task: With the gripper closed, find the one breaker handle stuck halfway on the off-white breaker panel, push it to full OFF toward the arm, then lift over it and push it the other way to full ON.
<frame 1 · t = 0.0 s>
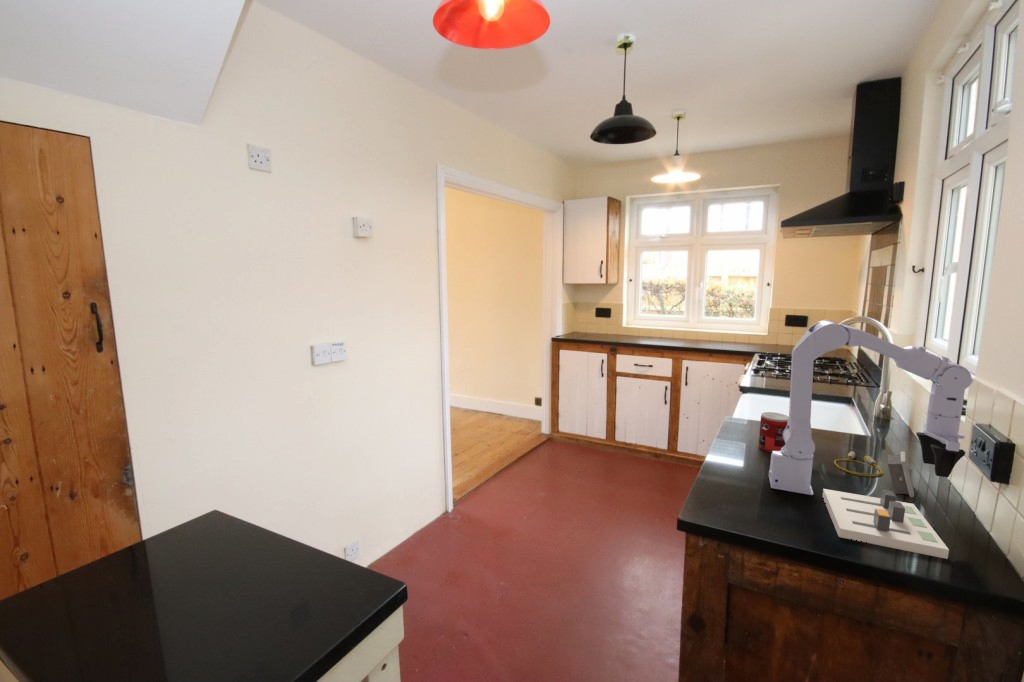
hand: (935, 469, 110), 10 cm above the kitchen counter, tool pointing down, fingers open, 7 cm apart
electrical switch: (899, 490, 122), on the kitchen counter
breaker panel: (877, 523, 105), on the kitchen counter
breaker handle: (881, 519, 100), point 4 cm above the kitchen counter, slide at 4.0 cm
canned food: (772, 449, 149), on the kitchen counter
extension cord: (859, 468, 136), on the kitchen counter
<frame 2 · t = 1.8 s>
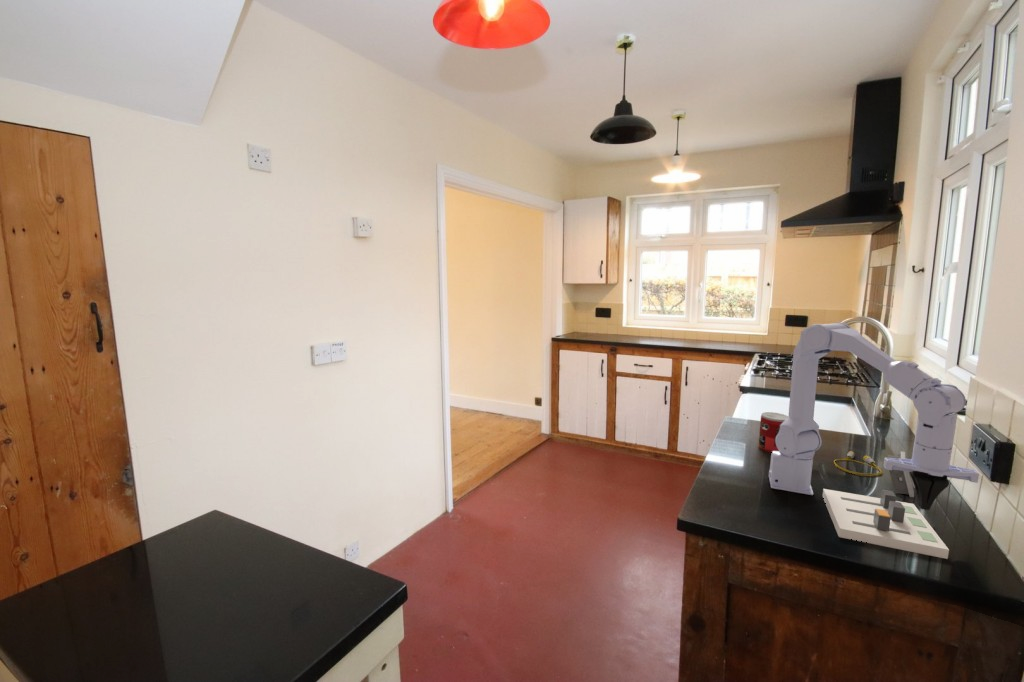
hand: (923, 507, 96), 8 cm above the kitchen counter, tool pointing down, fingers closed
nothing on the kitchen counter moved.
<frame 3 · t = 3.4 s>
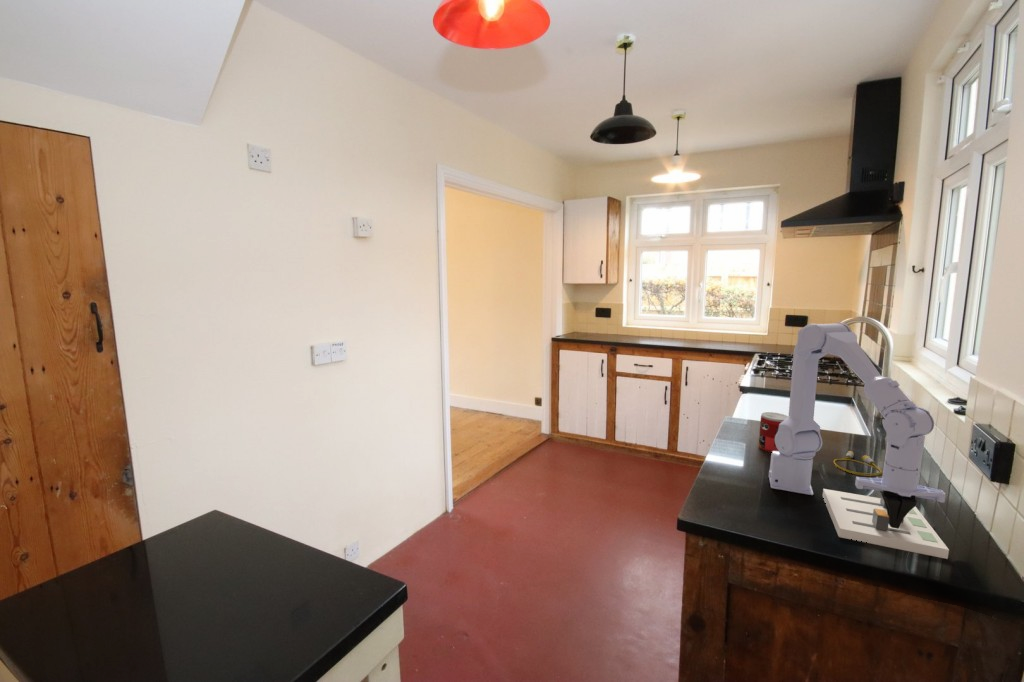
hand: (893, 525, 99), 3 cm above the kitchen counter, tool pointing down, fingers closed
breaker handle: (880, 519, 100), point 4 cm above the kitchen counter, slide at 3.8 cm, touching gripper
everything else where it was.
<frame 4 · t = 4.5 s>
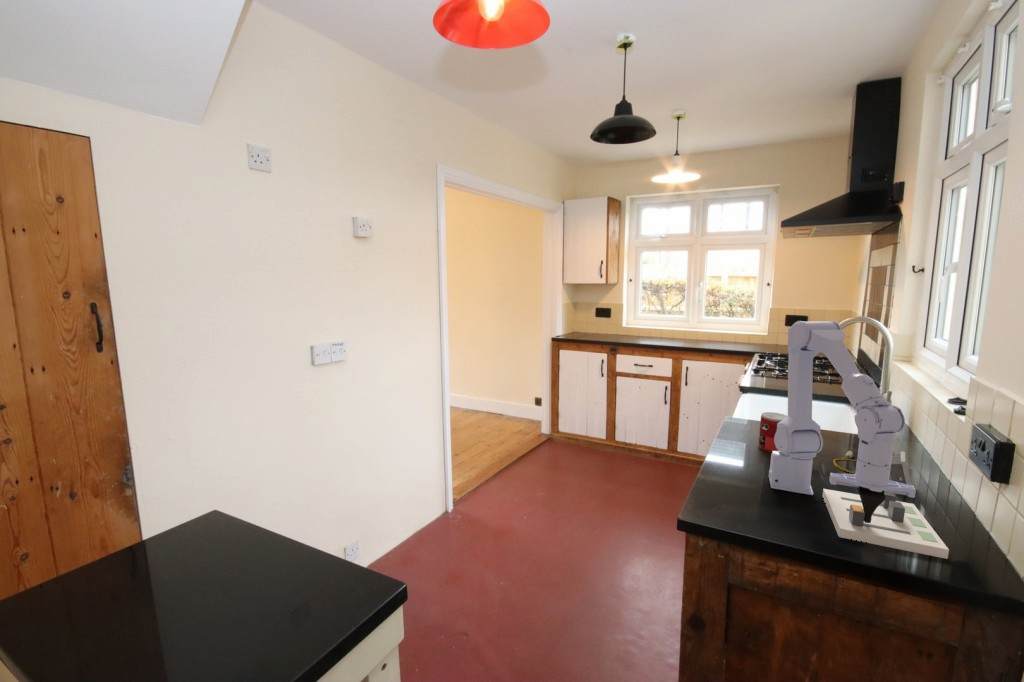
hand: (866, 520, 101), 3 cm above the kitchen counter, tool pointing down, fingers closed
breaker handle: (856, 514, 102), point 4 cm above the kitchen counter, slide at -0.4 cm, touching gripper
everything else where it was.
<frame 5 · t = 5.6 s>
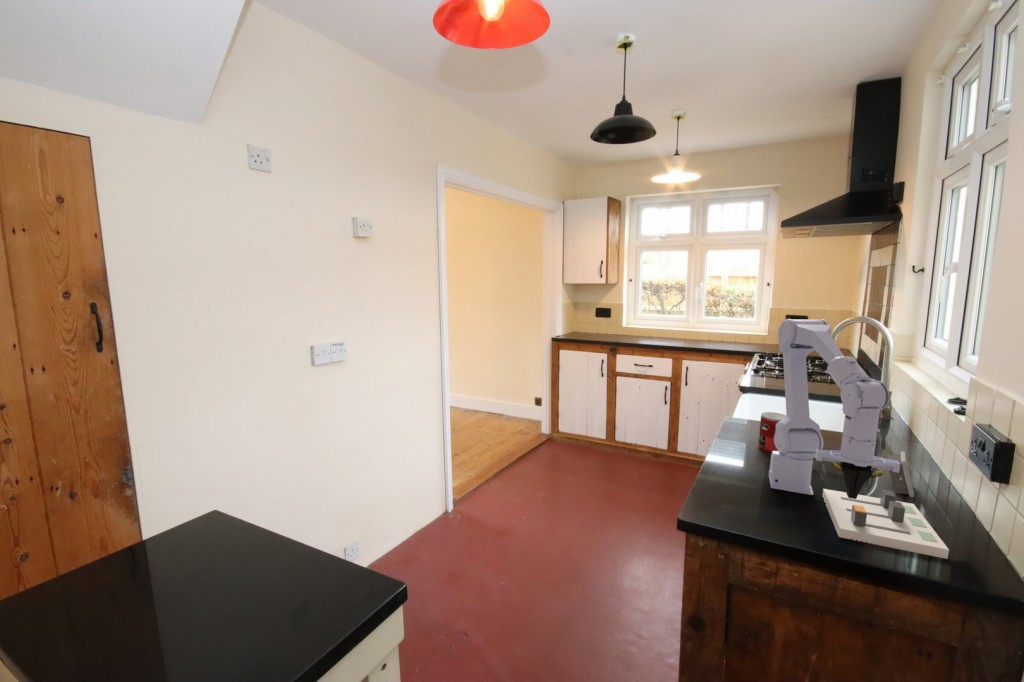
hand: (851, 496, 102), 8 cm above the kitchen counter, tool pointing down, fingers closed
breaker handle: (858, 515, 101), point 4 cm above the kitchen counter, slide at -0.1 cm
everything else where it was.
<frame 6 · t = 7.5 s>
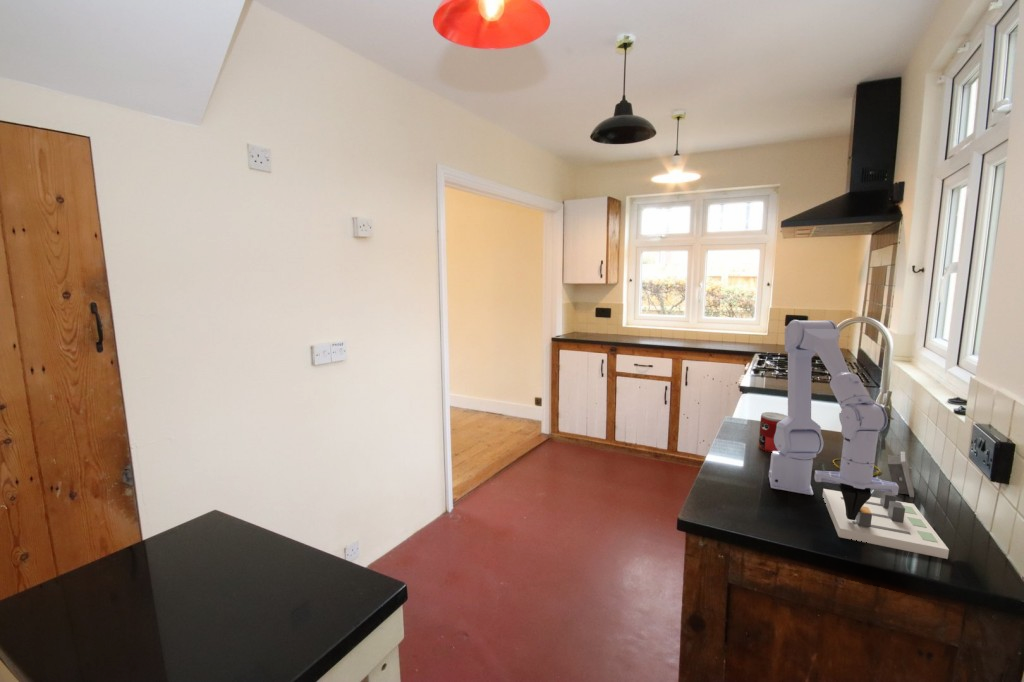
hand: (850, 517, 102), 3 cm above the kitchen counter, tool pointing down, fingers closed
breaker handle: (863, 516, 101), point 4 cm above the kitchen counter, slide at 0.8 cm, touching gripper
everything else where it was.
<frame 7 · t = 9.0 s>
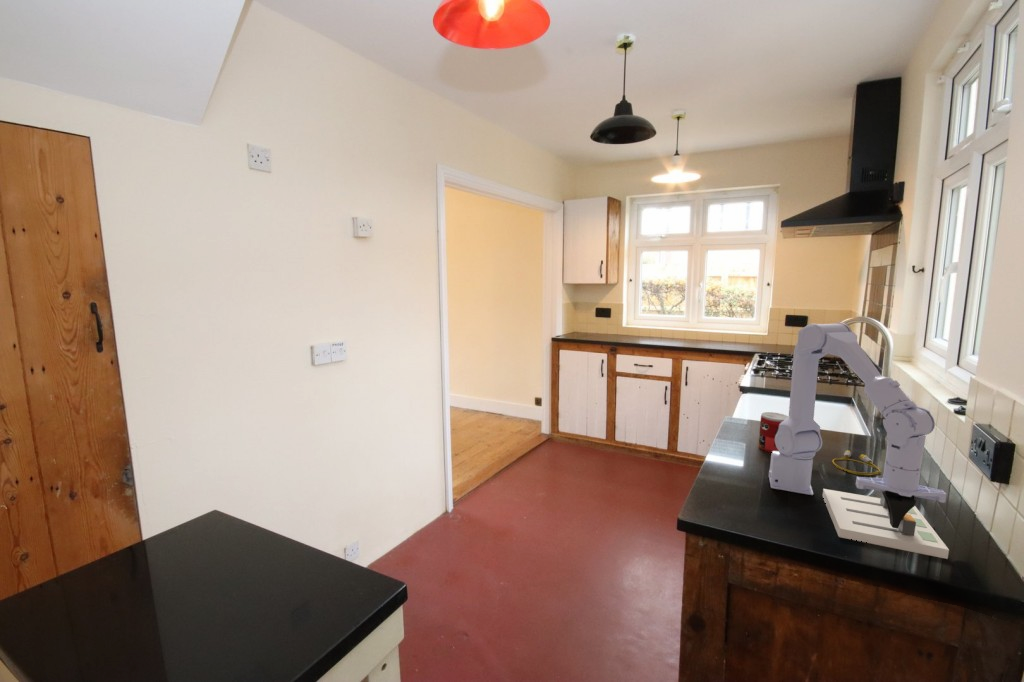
hand: (893, 525, 99), 3 cm above the kitchen counter, tool pointing down, fingers closed
breaker handle: (906, 524, 98), point 4 cm above the kitchen counter, slide at 8.2 cm, touching gripper
everything else where it was.
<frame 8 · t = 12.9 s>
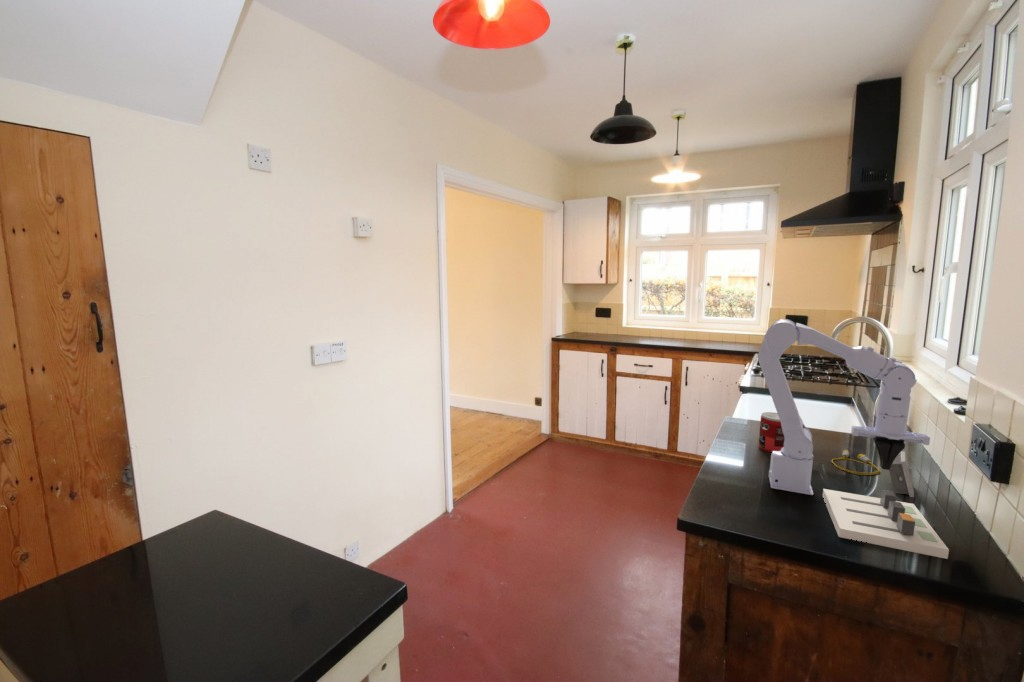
hand: (884, 468, 112), 9 cm above the kitchen counter, tool pointing down, fingers closed
breaker handle: (905, 523, 98), point 4 cm above the kitchen counter, slide at 8.1 cm
at the end: breaker handle slide at 8.1 cm; electrical switch moved 0.3 cm from its start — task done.
